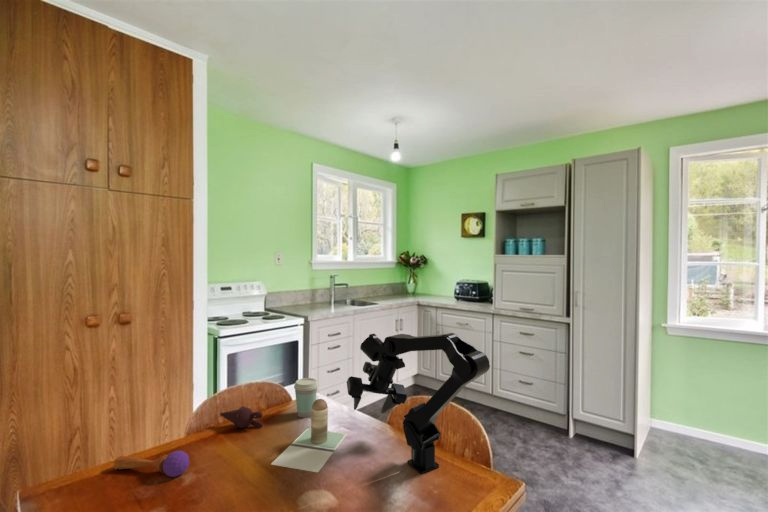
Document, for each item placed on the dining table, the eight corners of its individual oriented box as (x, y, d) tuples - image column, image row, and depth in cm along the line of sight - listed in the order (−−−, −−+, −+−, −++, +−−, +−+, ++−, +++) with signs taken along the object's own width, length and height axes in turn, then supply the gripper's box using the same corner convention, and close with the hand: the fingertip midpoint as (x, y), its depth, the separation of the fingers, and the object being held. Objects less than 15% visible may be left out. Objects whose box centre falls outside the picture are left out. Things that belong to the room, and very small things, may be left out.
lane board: (317, 473, 97) (317, 471, 97) (270, 465, 100) (270, 463, 100) (347, 435, 118) (347, 433, 118) (307, 429, 122) (307, 428, 122)
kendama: (129, 447, 102) (195, 447, 99) (127, 470, 101) (193, 472, 98) (110, 454, 96) (179, 454, 93) (107, 479, 95) (177, 480, 92)
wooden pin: (328, 442, 112) (328, 401, 112) (311, 444, 111) (312, 403, 111) (326, 435, 117) (326, 395, 117) (310, 436, 115) (310, 397, 115)
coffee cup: (322, 413, 135) (323, 380, 135) (306, 421, 127) (306, 386, 128) (305, 407, 139) (306, 376, 139) (288, 415, 132) (289, 382, 132)
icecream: (213, 412, 120) (257, 418, 118) (225, 398, 127) (267, 404, 125) (214, 430, 121) (257, 437, 120) (226, 415, 128) (267, 421, 127)
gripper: (406, 359, 121) (390, 396, 126) (352, 349, 116) (337, 388, 120) (415, 382, 111) (397, 421, 116) (357, 373, 106) (340, 414, 110)
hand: (368, 410), depth 116 cm, fingers open, 9 cm apart
